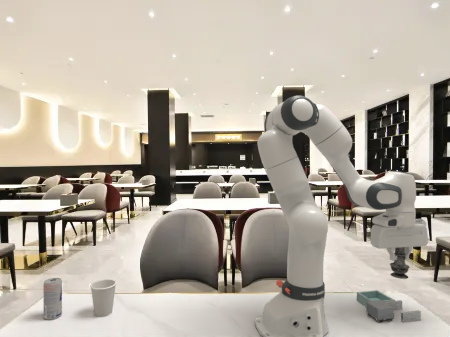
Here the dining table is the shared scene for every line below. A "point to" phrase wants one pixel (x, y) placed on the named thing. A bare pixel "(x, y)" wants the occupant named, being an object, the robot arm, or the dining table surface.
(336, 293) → the dining table surface
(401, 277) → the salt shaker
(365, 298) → the tray
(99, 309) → the dixie cup
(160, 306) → the dining table surface
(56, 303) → the energy drink
